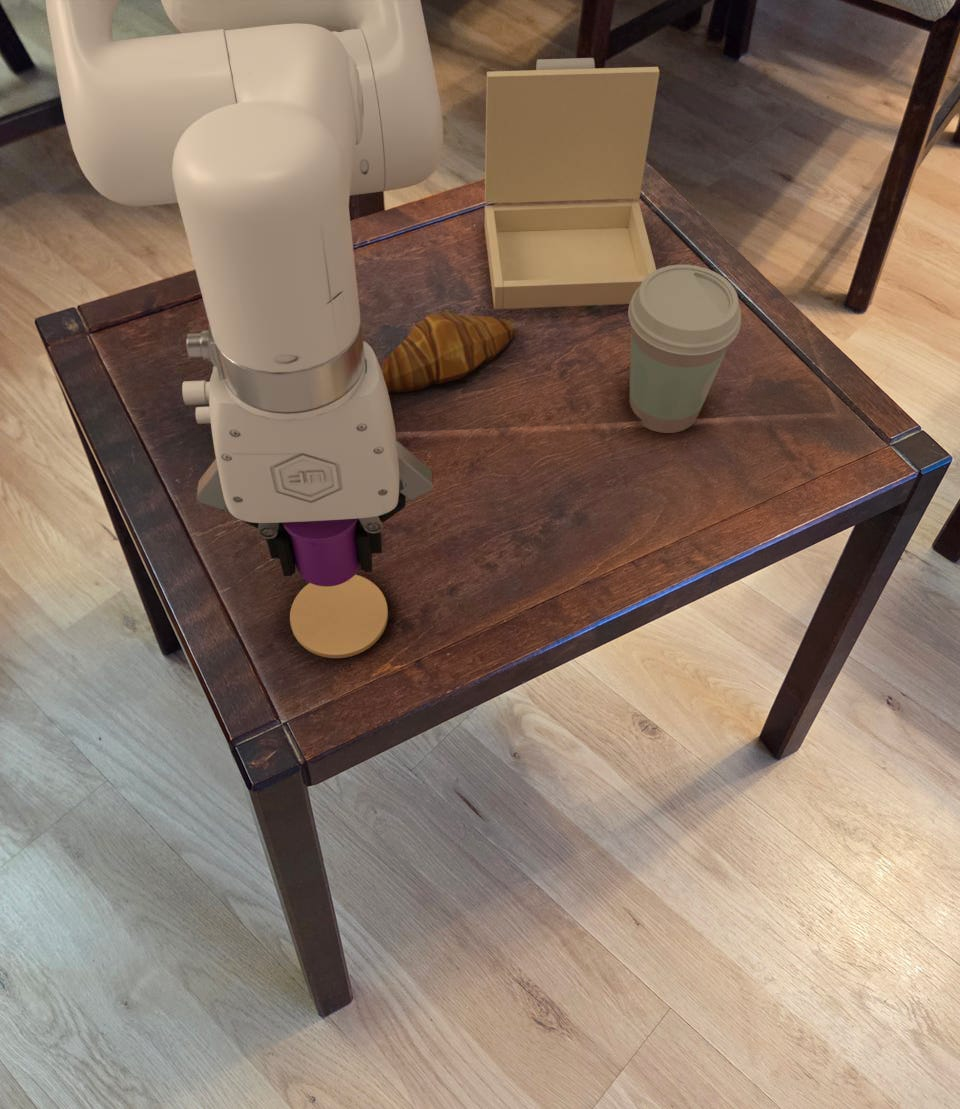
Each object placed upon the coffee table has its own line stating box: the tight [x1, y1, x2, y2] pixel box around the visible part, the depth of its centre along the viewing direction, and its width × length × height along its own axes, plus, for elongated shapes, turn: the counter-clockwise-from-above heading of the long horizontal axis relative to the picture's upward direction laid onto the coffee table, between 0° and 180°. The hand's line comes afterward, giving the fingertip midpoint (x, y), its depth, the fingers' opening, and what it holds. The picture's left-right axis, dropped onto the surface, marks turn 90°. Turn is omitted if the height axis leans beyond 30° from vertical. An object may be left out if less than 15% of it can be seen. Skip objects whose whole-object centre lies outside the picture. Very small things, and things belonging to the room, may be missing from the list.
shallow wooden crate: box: [484, 199, 657, 310], centre depth 97 cm, size 12×15×3 cm
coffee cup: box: [627, 264, 742, 434], centre depth 84 cm, size 9×8×12 cm
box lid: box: [484, 57, 660, 205], centre depth 95 cm, size 12×15×6 cm
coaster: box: [289, 574, 389, 659], centre depth 76 cm, size 7×7×1 cm
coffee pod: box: [281, 518, 361, 587], centre depth 68 cm, size 5×5×6 cm
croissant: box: [380, 311, 516, 394], centre depth 89 cm, size 14×7×5 cm, turn 122°
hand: (328, 555), depth 69 cm, fingers closed on coffee pod, 4 cm apart
